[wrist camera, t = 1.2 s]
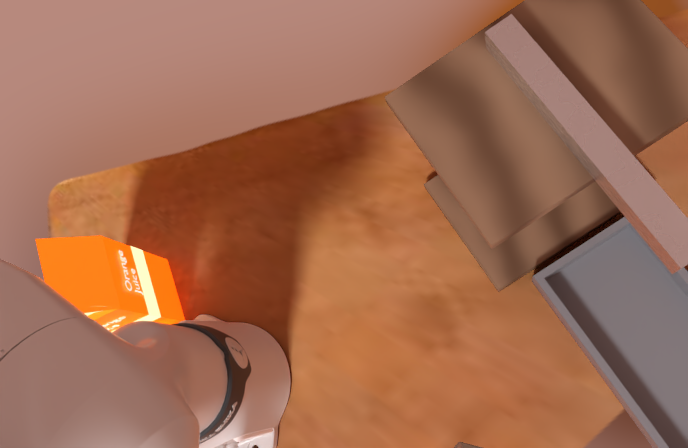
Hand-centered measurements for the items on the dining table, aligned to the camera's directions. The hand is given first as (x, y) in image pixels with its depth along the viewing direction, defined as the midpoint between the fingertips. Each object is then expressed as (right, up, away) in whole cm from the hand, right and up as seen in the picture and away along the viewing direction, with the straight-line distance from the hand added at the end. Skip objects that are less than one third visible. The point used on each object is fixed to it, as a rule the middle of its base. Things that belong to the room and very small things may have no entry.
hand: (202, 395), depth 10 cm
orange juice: (-23, -7, +72) cm, 76 cm away
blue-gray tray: (+35, -11, +56) cm, 67 cm away
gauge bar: (+20, +9, +37) cm, 43 cm away
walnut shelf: (+24, +7, +63) cm, 68 cm away
